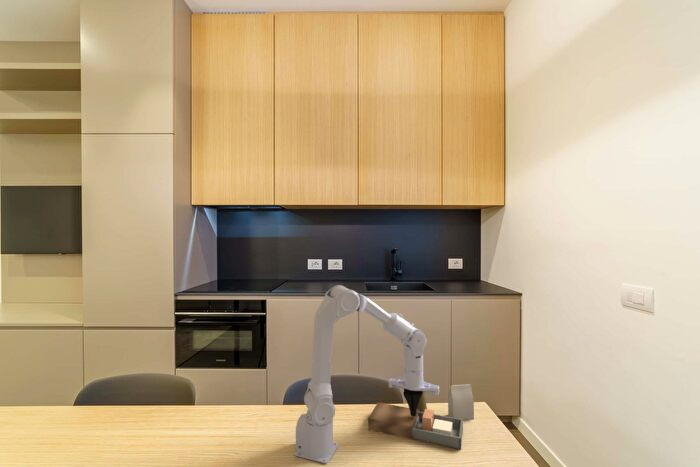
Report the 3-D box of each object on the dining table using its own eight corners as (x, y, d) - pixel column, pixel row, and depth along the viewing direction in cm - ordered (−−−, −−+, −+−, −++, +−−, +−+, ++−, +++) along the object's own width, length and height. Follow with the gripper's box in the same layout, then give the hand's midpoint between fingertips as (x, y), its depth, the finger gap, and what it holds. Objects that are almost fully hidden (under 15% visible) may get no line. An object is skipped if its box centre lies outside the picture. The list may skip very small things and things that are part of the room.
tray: (412, 439, 96) (412, 428, 96) (418, 421, 105) (418, 411, 105) (460, 449, 91) (460, 438, 91) (463, 429, 100) (462, 419, 100)
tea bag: (473, 419, 106) (473, 387, 106) (453, 421, 105) (453, 388, 105) (468, 413, 109) (467, 381, 109) (448, 414, 108) (447, 383, 108)
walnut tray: (368, 430, 100) (368, 418, 100) (378, 413, 110) (377, 402, 110) (412, 439, 96) (412, 426, 96) (418, 421, 105) (418, 409, 105)
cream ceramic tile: (450, 431, 94) (451, 440, 94) (452, 422, 99) (452, 430, 99) (432, 427, 96) (432, 436, 96) (434, 418, 101) (434, 427, 101)
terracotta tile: (422, 417, 97) (431, 418, 96) (425, 408, 102) (433, 410, 101) (422, 434, 97) (431, 436, 96) (425, 425, 102) (433, 427, 101)
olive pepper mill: (427, 419, 106) (427, 383, 106) (408, 417, 107) (407, 382, 107) (427, 409, 112) (427, 375, 112) (408, 407, 113) (408, 374, 113)
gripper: (440, 366, 101) (440, 412, 101) (392, 360, 107) (393, 403, 107) (437, 376, 95) (437, 424, 95) (386, 368, 100) (387, 415, 100)
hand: (413, 414), depth 100 cm, fingers closed
